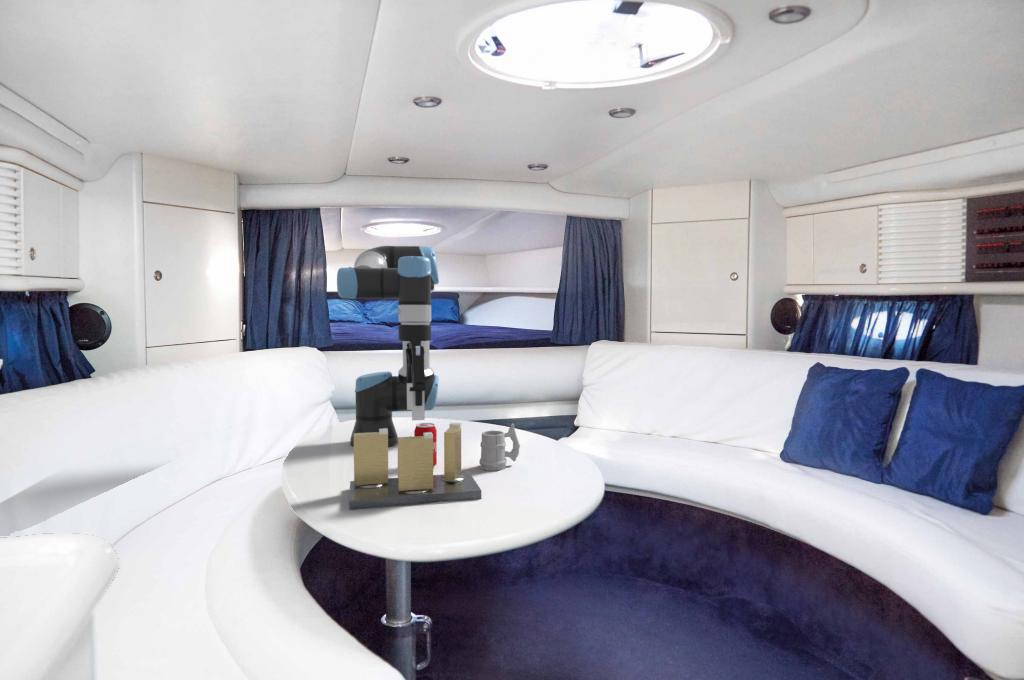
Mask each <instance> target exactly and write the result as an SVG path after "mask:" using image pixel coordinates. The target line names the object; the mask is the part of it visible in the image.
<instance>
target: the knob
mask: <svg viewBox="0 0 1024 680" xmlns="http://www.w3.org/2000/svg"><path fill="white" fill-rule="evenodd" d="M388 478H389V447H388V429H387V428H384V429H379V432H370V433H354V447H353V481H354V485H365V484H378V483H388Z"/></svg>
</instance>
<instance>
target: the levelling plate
mask: <svg viewBox="0 0 1024 680" xmlns="http://www.w3.org/2000/svg"><path fill="white" fill-rule="evenodd" d="M348 498H349V502H348V506H349V510H350V511H351V510H360V509H363V510H364V509H374V508H376V509H377V508H387V507H388V508H389V507H396V506H397V507H398V506H410V505H420V504H434V503H444V502H445V503H446V502H456V501H457V502H458V501H459V502H460V501H468V500H471V501H472V500H480V499H481V500H482V489H481V487H480V485H478V483H477V481H476V480H475V478H474V477H473V476H472V474H471V472H461V473H460V475H459V476H458V477H457V479H456V480H455V481H444V473H443V474H433V488H432V489H419V490H406V491H399V490H398V477H388V483H378V484H365V485H354V480H351V481H349V497H348Z"/></svg>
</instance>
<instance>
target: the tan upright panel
mask: <svg viewBox="0 0 1024 680" xmlns="http://www.w3.org/2000/svg"><path fill="white" fill-rule="evenodd" d="M448 425H449V427H448V428H447V429H446V430H445V431H444V433H443V443H444V444H443V447H444V448H443V451H444V452H443V455H444V456H443V457H444V459H443V461H444V462H443V464H444V465H443V466H444V467H443V471H444V473H443V474H444V481H455V480H456V479H457V477H458V476H459V475H460V473H462V422H450V423H449V424H448Z"/></svg>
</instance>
